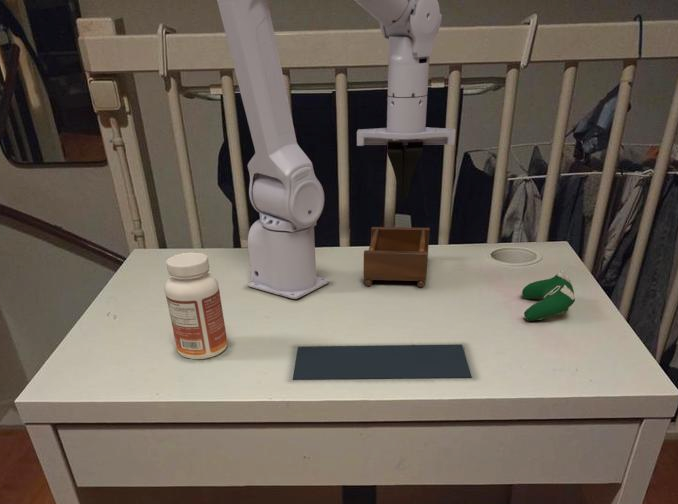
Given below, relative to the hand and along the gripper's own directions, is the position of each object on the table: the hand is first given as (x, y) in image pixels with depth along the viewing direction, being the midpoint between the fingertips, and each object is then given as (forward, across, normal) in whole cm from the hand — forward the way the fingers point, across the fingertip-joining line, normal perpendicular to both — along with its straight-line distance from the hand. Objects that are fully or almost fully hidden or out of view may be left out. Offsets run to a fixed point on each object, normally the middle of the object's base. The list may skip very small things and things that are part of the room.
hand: (403, 196), depth 98 cm
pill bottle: (+9, +22, +38) cm, 45 cm away
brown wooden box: (+8, 0, +10) cm, 13 cm away
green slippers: (+9, -20, +23) cm, 32 cm away
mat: (+8, 0, +40) cm, 40 cm away
